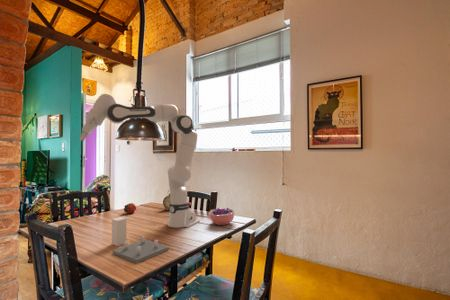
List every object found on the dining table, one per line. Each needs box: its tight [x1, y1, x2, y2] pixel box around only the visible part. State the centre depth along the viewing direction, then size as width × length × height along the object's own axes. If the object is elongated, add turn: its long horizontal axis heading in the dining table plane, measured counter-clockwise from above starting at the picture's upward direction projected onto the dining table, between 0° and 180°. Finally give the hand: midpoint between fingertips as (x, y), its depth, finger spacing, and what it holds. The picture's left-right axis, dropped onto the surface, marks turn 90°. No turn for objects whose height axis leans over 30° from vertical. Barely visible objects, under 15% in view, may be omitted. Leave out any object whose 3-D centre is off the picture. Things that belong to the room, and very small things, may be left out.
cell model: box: [208, 207, 235, 226], centre depth 166 cm, size 17×20×11 cm
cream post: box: [111, 216, 127, 247], centre depth 129 cm, size 5×5×13 cm
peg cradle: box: [112, 235, 169, 264], centre depth 119 cm, size 18×18×5 cm
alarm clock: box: [162, 189, 170, 211], centre depth 204 cm, size 11×5×16 cm, turn 105°
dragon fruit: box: [123, 203, 137, 215], centre depth 193 cm, size 8×8×12 cm
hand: (81, 140), depth 138 cm, fingers open, 8 cm apart
